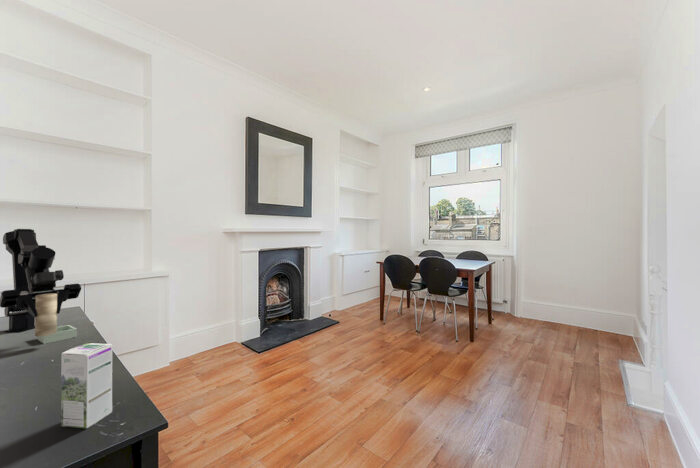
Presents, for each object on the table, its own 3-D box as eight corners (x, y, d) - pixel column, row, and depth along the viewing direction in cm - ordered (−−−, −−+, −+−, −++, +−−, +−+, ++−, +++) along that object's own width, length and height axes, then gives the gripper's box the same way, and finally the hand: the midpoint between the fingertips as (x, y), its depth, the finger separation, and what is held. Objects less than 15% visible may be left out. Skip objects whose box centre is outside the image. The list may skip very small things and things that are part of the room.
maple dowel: (30, 336, 95) (31, 296, 95) (45, 331, 100) (46, 293, 100) (46, 336, 95) (47, 296, 95) (60, 331, 100) (61, 293, 100)
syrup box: (113, 411, 61) (114, 342, 62) (85, 430, 56) (86, 353, 56) (88, 410, 62) (90, 341, 62) (58, 428, 56) (59, 352, 56)
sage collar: (37, 339, 105) (37, 330, 105) (69, 332, 112) (69, 324, 112) (43, 343, 100) (43, 335, 101) (76, 336, 108) (77, 328, 108)
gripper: (1, 265, 92) (8, 305, 86) (80, 261, 108) (90, 294, 102) (-4, 287, 96) (2, 327, 90) (72, 281, 112) (82, 314, 106)
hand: (47, 314), depth 97 cm, fingers closed on maple dowel, 5 cm apart
